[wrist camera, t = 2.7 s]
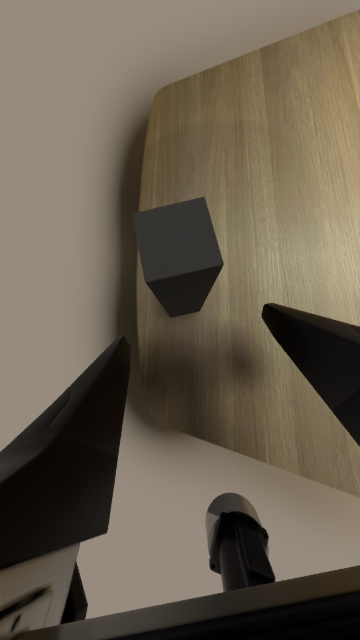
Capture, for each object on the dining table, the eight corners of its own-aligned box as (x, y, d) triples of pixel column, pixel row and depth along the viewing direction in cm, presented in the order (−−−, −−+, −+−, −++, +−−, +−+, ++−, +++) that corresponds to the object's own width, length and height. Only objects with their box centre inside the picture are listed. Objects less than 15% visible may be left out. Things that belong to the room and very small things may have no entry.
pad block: (199, 310, 20) (224, 264, 7) (170, 317, 20) (144, 282, 8) (193, 283, 21) (204, 195, 8) (164, 289, 21) (131, 213, 8)
